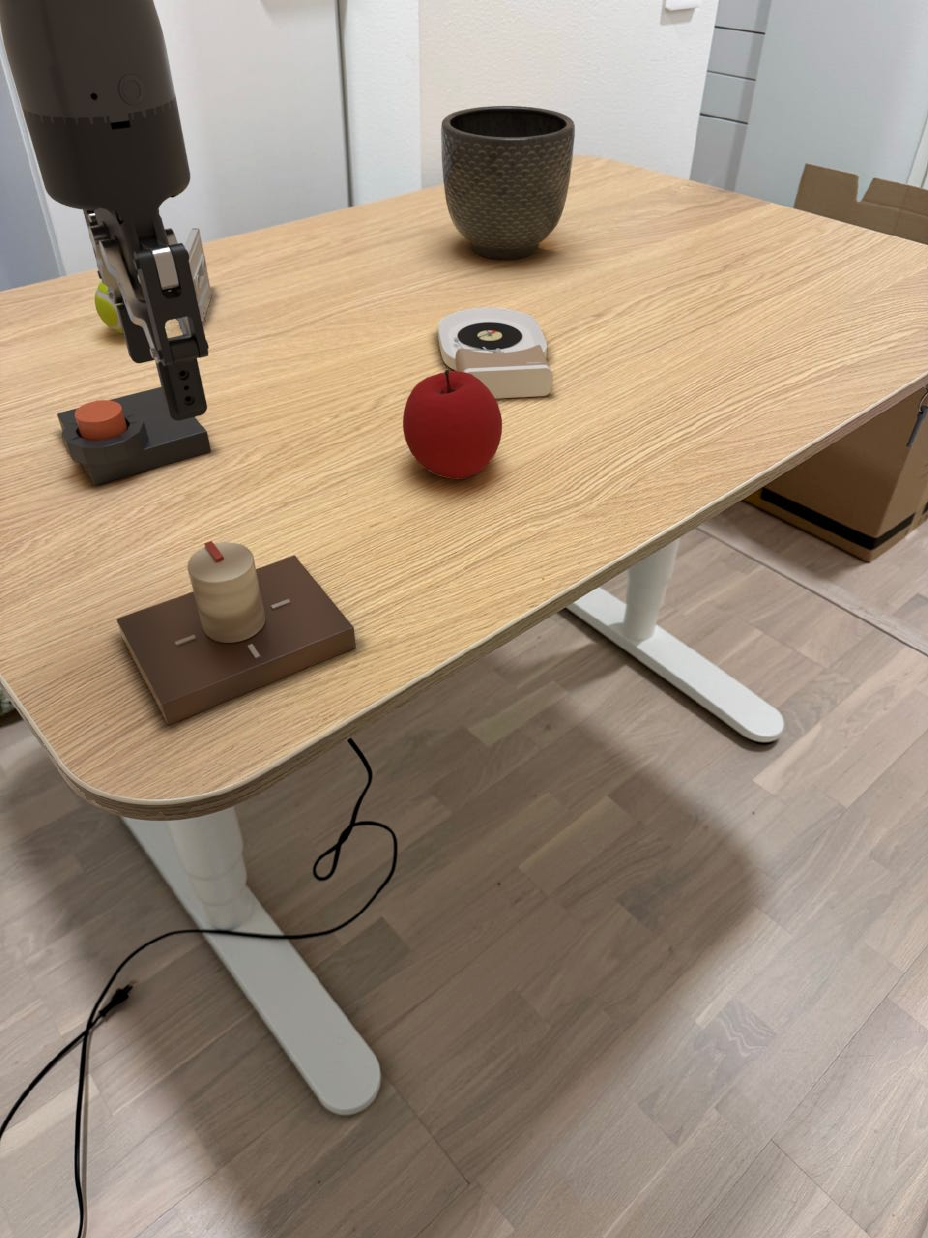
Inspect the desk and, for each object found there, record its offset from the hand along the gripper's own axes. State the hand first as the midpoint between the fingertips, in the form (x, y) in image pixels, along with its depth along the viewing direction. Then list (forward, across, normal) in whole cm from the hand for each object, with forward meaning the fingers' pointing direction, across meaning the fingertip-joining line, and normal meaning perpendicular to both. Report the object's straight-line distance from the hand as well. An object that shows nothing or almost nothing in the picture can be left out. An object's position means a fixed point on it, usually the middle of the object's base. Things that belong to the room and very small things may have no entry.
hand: (167, 385), depth 57 cm
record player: (+19, -26, +41) cm, 52 cm away
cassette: (+19, -55, +16) cm, 61 cm away
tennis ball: (+19, -53, +8) cm, 57 cm away
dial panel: (+18, +4, 0) cm, 19 cm away
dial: (+16, +4, 0) cm, 17 cm away
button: (+15, -25, -2) cm, 29 cm away
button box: (+18, -28, +1) cm, 33 cm away
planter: (+19, -54, +60) cm, 83 cm away
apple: (+19, -9, +25) cm, 33 cm away
